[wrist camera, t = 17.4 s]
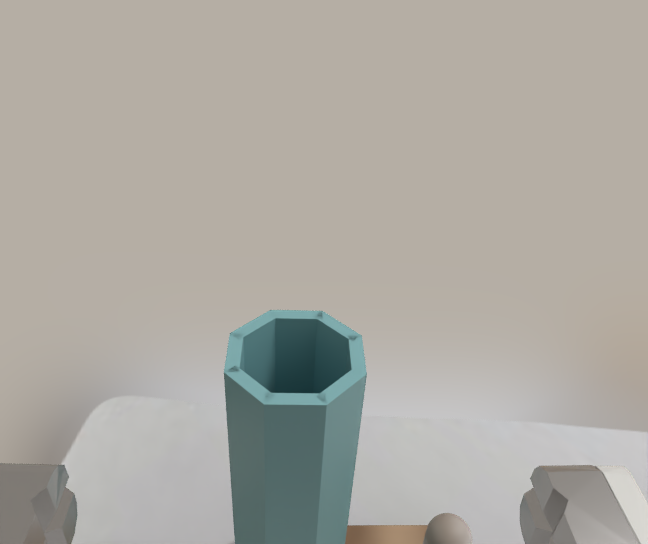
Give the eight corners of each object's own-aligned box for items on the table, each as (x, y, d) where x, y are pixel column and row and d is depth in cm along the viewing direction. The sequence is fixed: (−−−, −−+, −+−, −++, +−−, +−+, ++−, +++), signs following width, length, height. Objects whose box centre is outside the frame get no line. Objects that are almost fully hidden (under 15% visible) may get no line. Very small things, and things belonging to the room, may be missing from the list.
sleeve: (333, 548, 39) (358, 311, 27) (337, 644, 34) (370, 405, 22) (244, 548, 38) (233, 309, 27) (237, 645, 33) (218, 403, 22)
